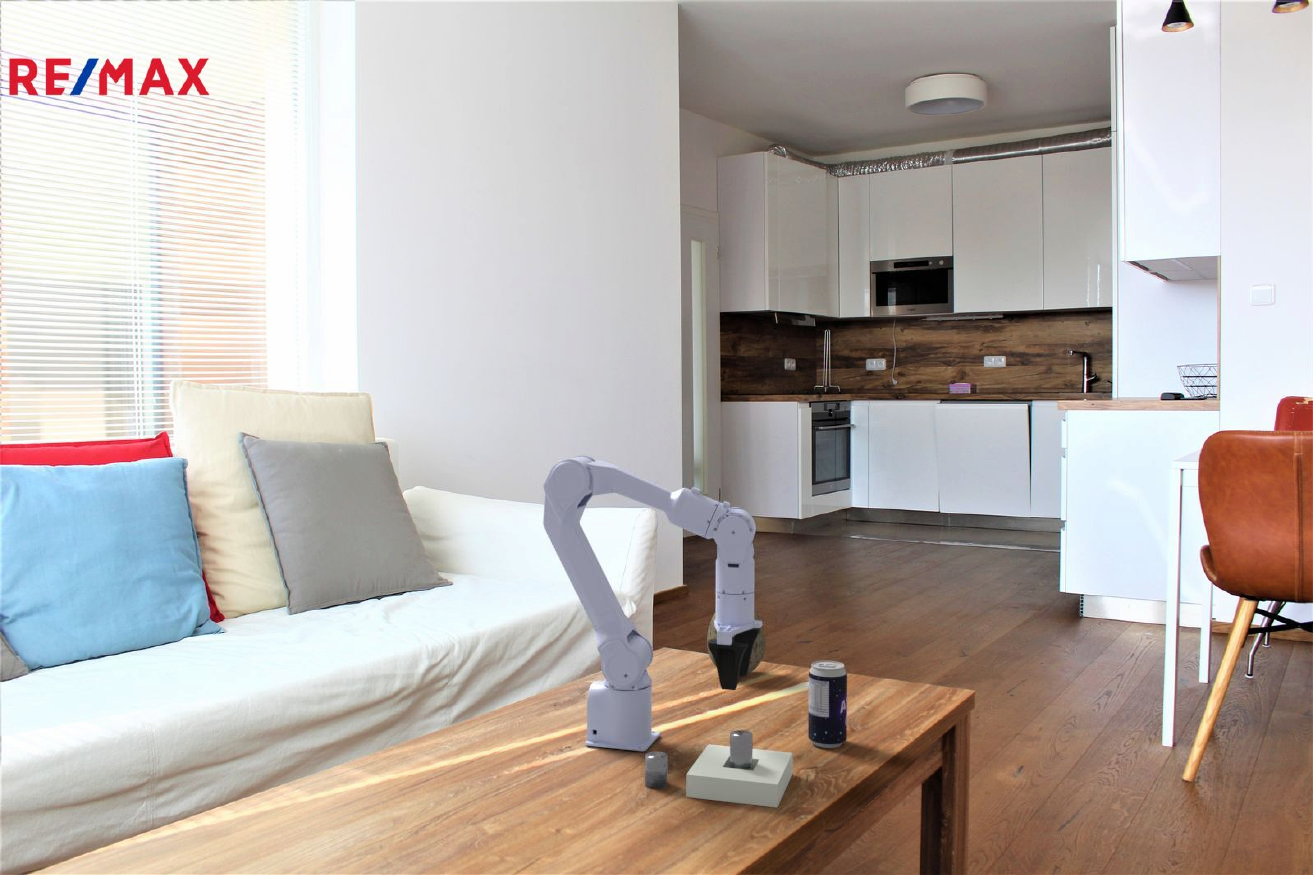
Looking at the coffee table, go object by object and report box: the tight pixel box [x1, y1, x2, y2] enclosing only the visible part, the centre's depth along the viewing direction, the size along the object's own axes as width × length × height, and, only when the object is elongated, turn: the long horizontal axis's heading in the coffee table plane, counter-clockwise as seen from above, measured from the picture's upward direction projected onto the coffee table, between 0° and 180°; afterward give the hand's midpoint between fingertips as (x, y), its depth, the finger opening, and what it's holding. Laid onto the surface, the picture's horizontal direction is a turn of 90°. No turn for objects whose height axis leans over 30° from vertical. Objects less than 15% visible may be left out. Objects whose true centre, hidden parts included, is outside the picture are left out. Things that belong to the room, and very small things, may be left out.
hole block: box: [685, 744, 794, 808], centre depth 139 cm, size 12×12×3 cm
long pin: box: [729, 729, 754, 770], centre depth 139 cm, size 3×3×7 cm
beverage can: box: [807, 660, 848, 749], centre depth 155 cm, size 6×6×12 cm
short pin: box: [644, 751, 668, 790], centre depth 139 cm, size 3×3×4 cm
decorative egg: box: [706, 608, 766, 678], centre depth 192 cm, size 11×11×15 cm
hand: (734, 682), depth 153 cm, fingers open, 7 cm apart
